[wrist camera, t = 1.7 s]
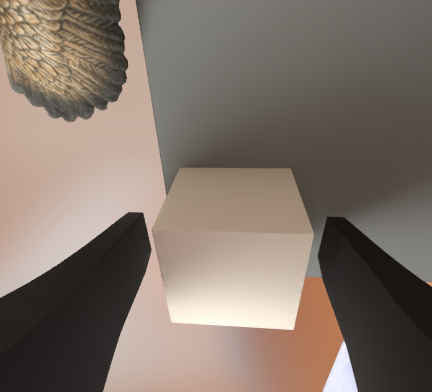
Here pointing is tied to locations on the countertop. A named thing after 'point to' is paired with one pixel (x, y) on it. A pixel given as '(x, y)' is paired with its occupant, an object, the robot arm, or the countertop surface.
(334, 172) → the build mat
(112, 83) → the eagle figurine
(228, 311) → the cream brick
